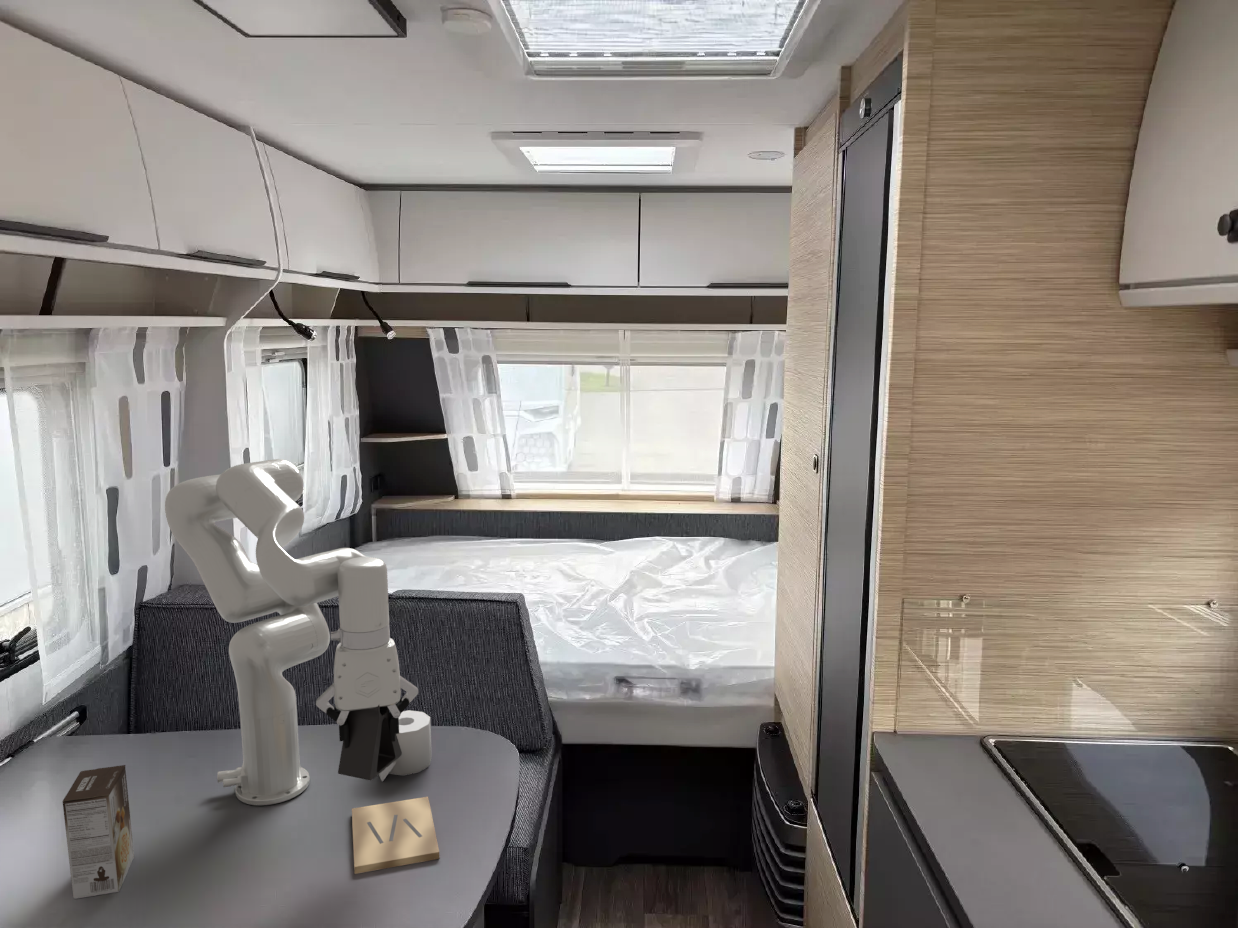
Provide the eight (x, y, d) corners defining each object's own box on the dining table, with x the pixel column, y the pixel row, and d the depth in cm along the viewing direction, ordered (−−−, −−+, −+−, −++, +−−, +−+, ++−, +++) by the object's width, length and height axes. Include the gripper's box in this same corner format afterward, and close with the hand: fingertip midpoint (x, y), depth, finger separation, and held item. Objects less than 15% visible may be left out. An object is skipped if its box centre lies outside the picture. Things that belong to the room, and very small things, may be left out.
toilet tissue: (374, 786, 160) (373, 743, 159) (387, 751, 173) (385, 710, 172) (424, 785, 161) (423, 741, 159) (433, 749, 174) (432, 709, 173)
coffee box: (89, 863, 137) (80, 768, 134) (135, 856, 139) (126, 763, 136) (71, 900, 128) (61, 800, 126) (120, 892, 130) (110, 793, 128)
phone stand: (369, 781, 137) (366, 709, 135) (337, 774, 139) (334, 703, 137) (402, 754, 145) (399, 686, 143) (371, 748, 147) (368, 681, 145)
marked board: (354, 873, 135) (354, 866, 135) (352, 814, 151) (351, 808, 151) (439, 858, 139) (439, 851, 139) (428, 802, 155) (428, 796, 155)
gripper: (306, 650, 132) (312, 759, 135) (423, 638, 137) (426, 744, 140) (308, 633, 139) (313, 737, 142) (418, 622, 144) (422, 723, 147)
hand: (369, 739), depth 141 cm, fingers closed on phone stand, 6 cm apart
